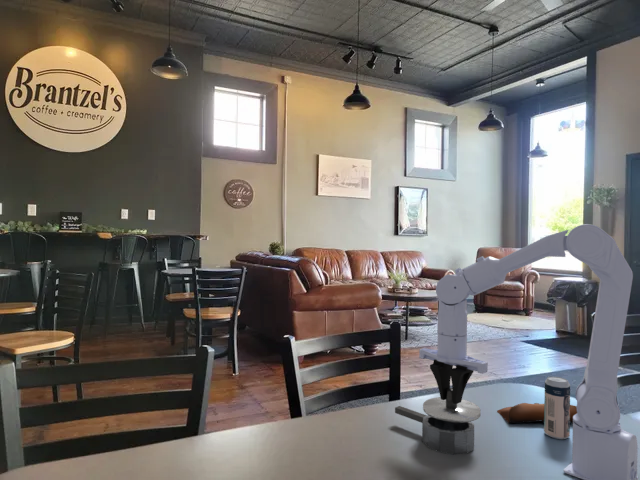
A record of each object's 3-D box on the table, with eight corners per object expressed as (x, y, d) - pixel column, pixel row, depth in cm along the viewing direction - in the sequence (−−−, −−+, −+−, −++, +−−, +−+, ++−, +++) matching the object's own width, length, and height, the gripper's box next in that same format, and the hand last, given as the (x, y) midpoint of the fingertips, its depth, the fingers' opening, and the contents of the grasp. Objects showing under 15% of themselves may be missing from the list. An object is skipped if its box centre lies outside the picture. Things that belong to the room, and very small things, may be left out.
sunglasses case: (566, 410, 110) (575, 392, 107) (581, 436, 104) (591, 417, 101) (493, 410, 110) (500, 391, 107) (504, 436, 104) (511, 416, 100)
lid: (491, 413, 91) (492, 391, 91) (457, 427, 84) (457, 404, 84) (446, 397, 100) (446, 377, 100) (411, 408, 93) (411, 387, 93)
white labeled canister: (572, 441, 93) (573, 383, 93) (547, 439, 94) (548, 381, 94) (565, 432, 98) (565, 376, 98) (541, 430, 99) (542, 375, 99)
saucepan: (483, 444, 91) (483, 424, 91) (456, 459, 85) (456, 437, 85) (410, 417, 105) (411, 400, 105) (382, 428, 98) (382, 410, 98)
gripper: (411, 330, 95) (409, 395, 95) (474, 342, 84) (473, 416, 84) (430, 326, 99) (429, 388, 99) (493, 337, 88) (492, 407, 88)
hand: (450, 400), depth 92 cm, fingers closed on lid, 2 cm apart
